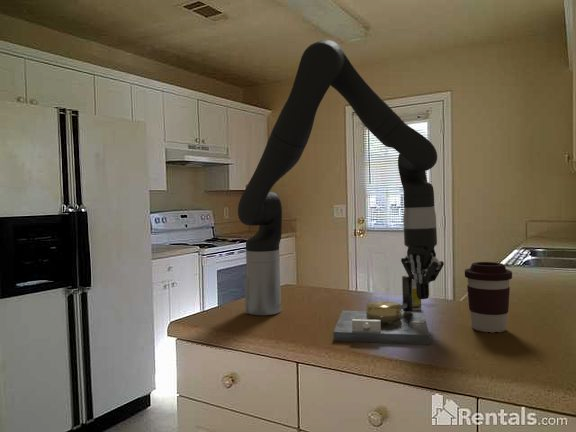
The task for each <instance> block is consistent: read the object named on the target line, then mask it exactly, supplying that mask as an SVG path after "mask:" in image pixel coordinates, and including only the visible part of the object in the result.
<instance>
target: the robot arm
mask: <svg viewBox="0 0 576 432" xmlns="http://www.w3.org/2000/svg"><path fill="white" fill-rule="evenodd" d="M291 87H292V88H291V90H290V93H289V95H288V97H287V99H286V101H285V103H284V106H283V107H282V109H281V111H280V113H279V115H278V117H277V120H276V121H275V124H274V125H273V128H272V130H271V133H270V135H269V137H268V140H267V142H266V145H265V148H264V150H263V152H262V154H261V158H260V159H259V162H258V164H257V166H256V168H255V170H254V171H253V174H252V176H251V178H250V180H249V181H248V183H247V185H246V187H245V189H244V190H243V193H242V194H241V196H240V200H239V201H238V206H237V216H238V219H239V221H240V223H241V224H243V225H246V226H250V227H251V226H253V227H255V226H259V227H258V231H257V232H256V233H255V234H254V235H253V236H251V237H250V238H248V239H247V240H246V242H245V260H246V261H245V263H246V265H245V266H246V277H245V278H244V280H243V281H244V306H245V307H244V311H245V313H244V314H246V315H247V314H249V315H252V316H271V315H272V316H273V315H276V314H280V313H281V311H282V299H281V298H282V297H281V296H282V295H281V293H282V292H281V265H280V263H281V261H280V244H281V239H282V236H283V235H282V233H283V232H282V230H283V229H282V228H283V227H282V225H283V222H282V221H283V208H282V207H283V205H282V201H281V198H280V197H279V195H278V194H277V193H276V192H274V191H271V189H272V188H273V187H274V186H275V185H276V183H277V182H279V181H280V179H282V178H283V177H284V176H285V175H287V173H288V172H290V170H292V169H293V168H294V167H295V166H296V165H297V164H298V162H299V160H301V157H302V155H303V153H304V151H305V149H306V148H307V147H306V146H307V144H308V141H309V140H310V136H311V133H312V129H313V126H314V121H315V118H316V114H317V111H318V109H319V106H320V104H321V103H322V101H323V98H324V97H325V95H326V94H327V91H328V90H329V89H330V87H332V88H333V89H335V90H336V91H337V92H338V94H340V95H341V96H342V98H343V99H344V100H345V101H346V102H347V103H348V105H350V107H351V108H352V110H353V112H354V113H355V114H356V116H357V117H358V119H359V120H360V122H361V123H362V124H363V125H364V126H365V128H366V129H367V130H368V131H370V133H371V134H372V135H373V136H374V137H375V138H376V139H377V140H378V141H379V142H380V143H381V144H382V145H383V146H385V147H387V148H391V149H394V150H395V151H396V152H398V158H397V167H398V173H399V178H400V183H401V185H402V189H403V217H402V220H403V221H402V222H403V238H404V239H403V240H404V242H403V243H404V246H406V247H407V251H406V256H405V257H401V259H400V262H401V264H402V266H403V268H404V270H405V271H406V273H407V276H409V278H410V279H413V280H414V281H415V283H416V293H417V298H419V299H421V300H428V299H429V297H430V288H429V287H430V285H429V284H430V283H431V282H435V281H436V280H437V277H438V276H439V273H440V272H441V270H442V269H443V267H444V266H445V263H444V261H443V260H438V258H437V253H436V250H435V247H436V246H437V245H438V233H437V214H436V209H435V191H434V186H433V184H432V183H430V182H428V179H427V172H426V171H429V170H431V169H433V168H434V166H435V165H436V164H437V161H438V152H437V149H436V148H435V146H434V144H433V143H432V142H431V141H430V140H429V139H428V138H426V137H425V136H424V135H423V134H421V133H420V132H418V131H417V130H416V129H414V128H412V127H411V126H410V125H408V124H406V123H405V122H404V120H403V119H402V118H401V117H400V116H399V115H398V114H397V113H396V112H395V111H394V110H393V108H392V107H390V106H389V105H388V104H387V102H385V101H384V100H383V99H382V98H381V97H380V95H379V94H377V93H376V92H375V90H374V89H372V88H371V86H370V85H369V84H368V83H367V82H366V81H365V79H364V78H363V77H362V75H360V73H359V72H358V71H357V69H356V68H355V67H354V65H353V64H352V63H351V61H350V60H349V58H348V56H347V55H346V54H345V52H344V51H343V49H342V48H341V46H340V45H339V44H338V43H336V42H335V41H334V40H329V39H322V40H318V41H316V42H314V43H312V44H310V45H309V46H308V47H306V49H304V51H303V53H302V56H301V57H300V61H299V64H298V68H297V71H296V75H295V78H294V81H293V84H292V86H291Z"/></svg>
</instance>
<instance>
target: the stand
mask: <svg viewBox="0 0 576 432" xmlns="http://www.w3.org/2000/svg"><path fill="white" fill-rule="evenodd" d="M401 317H402V319H401V320H400V321H398V322H392V323H381V320H368V319H367V317H366V310H342V311H341V313H340V315H339V317H338V320H337V323H336V325H335V328H334V330H333V341H334V342H351V343H353V342H354V343H375V344H377V343H378V344H397V345H398V344H399V345H400V344H401V345H403V344H404V345H405V344H406V345H427V346H431V334H430V332H429V331H430V330H429V328H428V323H427V321H426V317H425V313H424V312H416V311H415V312H414V311H409V312H408V311H401Z"/></svg>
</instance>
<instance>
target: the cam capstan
mask: <svg viewBox="0 0 576 432" xmlns="http://www.w3.org/2000/svg"><path fill="white" fill-rule="evenodd" d="M401 281H402V282H401V283H402V285H401V288H402V294H401V295H402V303H397V302H395V301H394V302H393V301H392V302H391V301H372V302H369V303H367V304H366V305H365V308H366V309H365V311H366V317H367V319H368V320H381V323H392V322H398V321H400V320H401V319H402V317H401V312H414V310H413V294H412V279H410V278H409V276H408V275H403V276H402V277H401Z"/></svg>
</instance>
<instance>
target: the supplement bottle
mask: <svg viewBox="0 0 576 432" xmlns="http://www.w3.org/2000/svg"><path fill="white" fill-rule="evenodd" d="M412 294H413V311H420V310H421V309H422V299H419V298H417V293H416V283H415V281H414V280H413V279H412Z"/></svg>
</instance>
